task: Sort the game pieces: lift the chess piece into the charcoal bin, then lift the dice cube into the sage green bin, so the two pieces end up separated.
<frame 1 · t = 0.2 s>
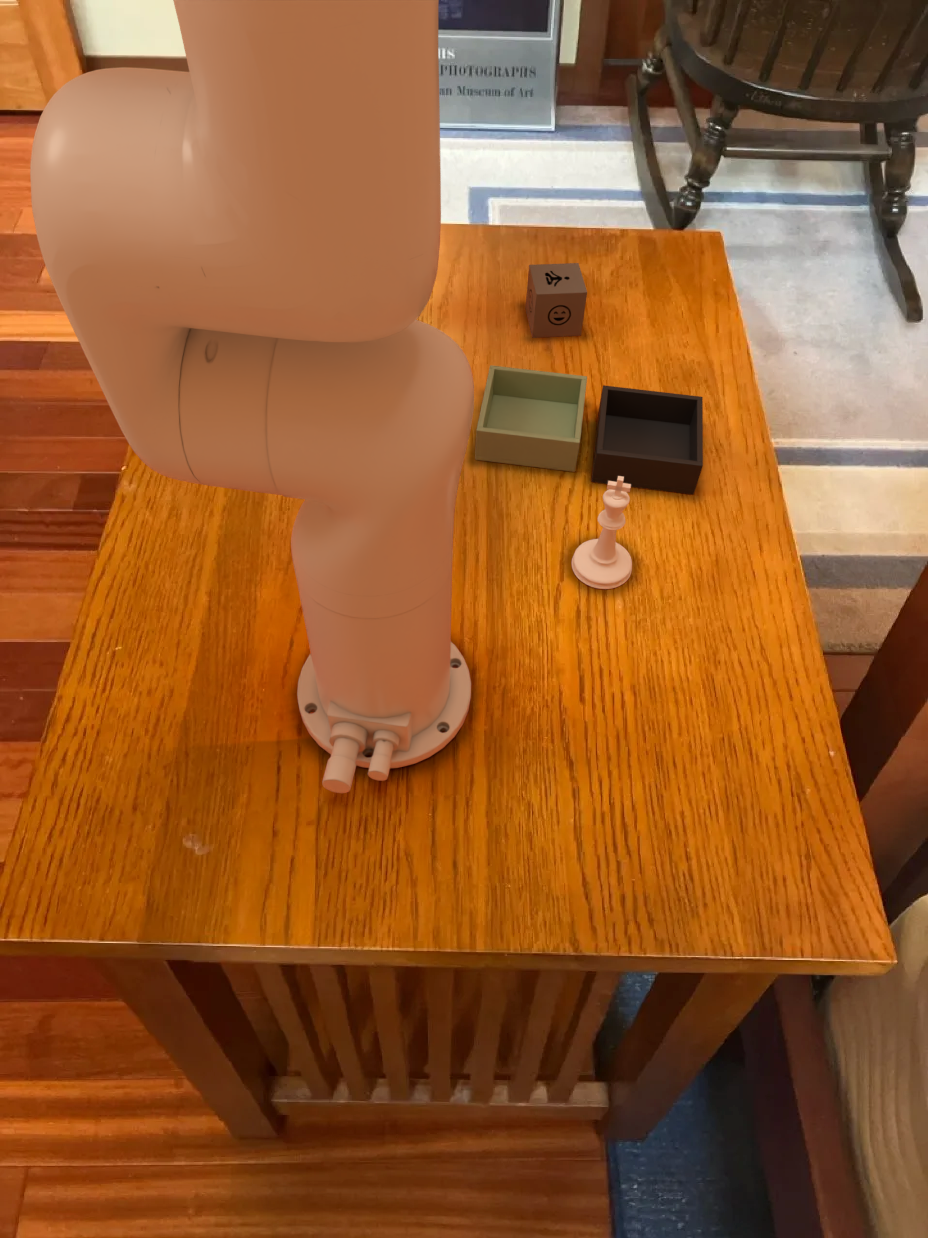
charcoal bin: (644, 453, 84), on the table
sage bin: (530, 432, 86), on the table
chess piece: (601, 567, 76), on the table
dice cube: (552, 323, 96), on the table
candle: (377, 315, 96), on the table
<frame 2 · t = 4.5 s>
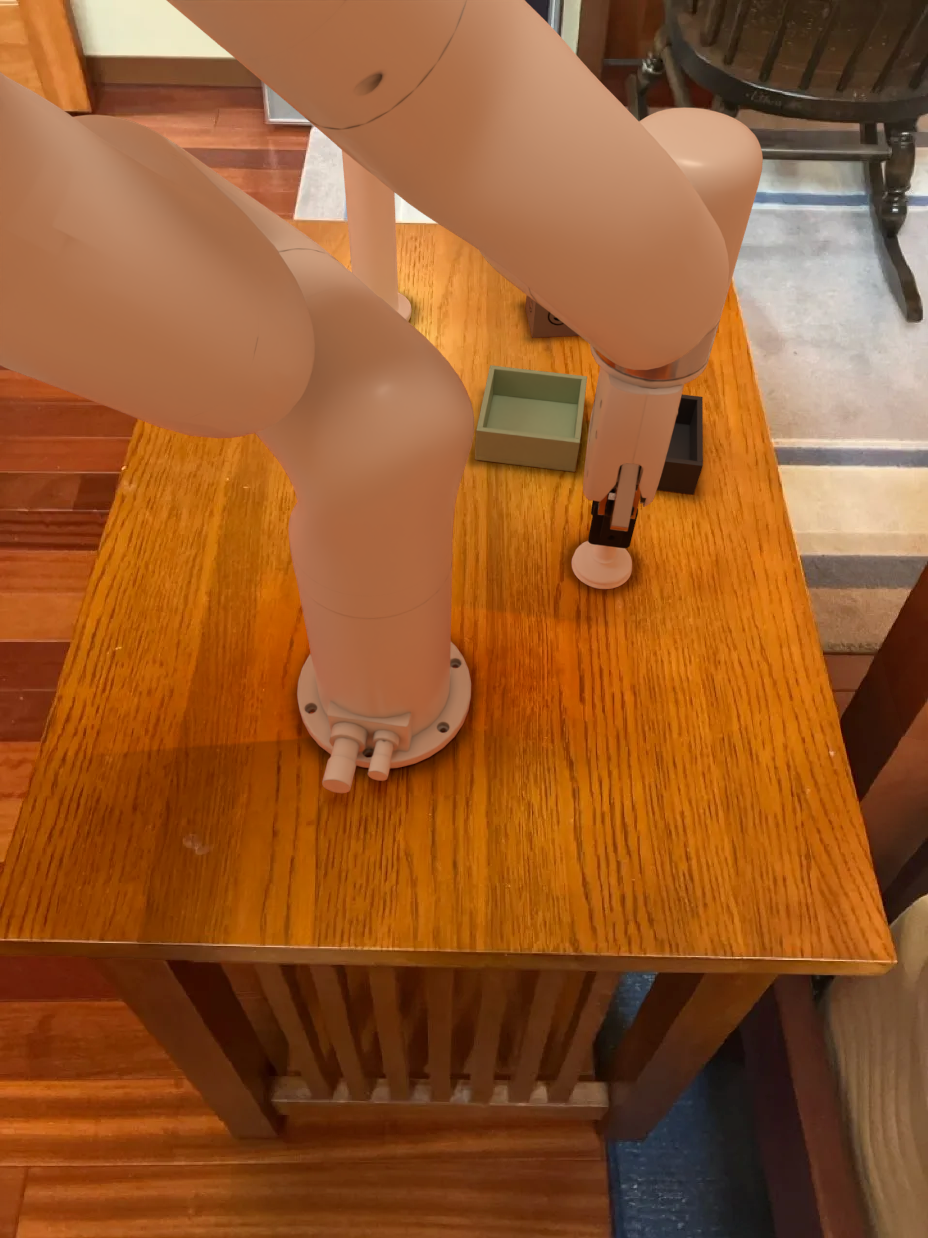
hand: (609, 528, 73), 5 cm above the table, tool pointing down, fingers closed on chess piece
chess piece: (601, 567, 76), on the table, touching gripper
everything else where it was.
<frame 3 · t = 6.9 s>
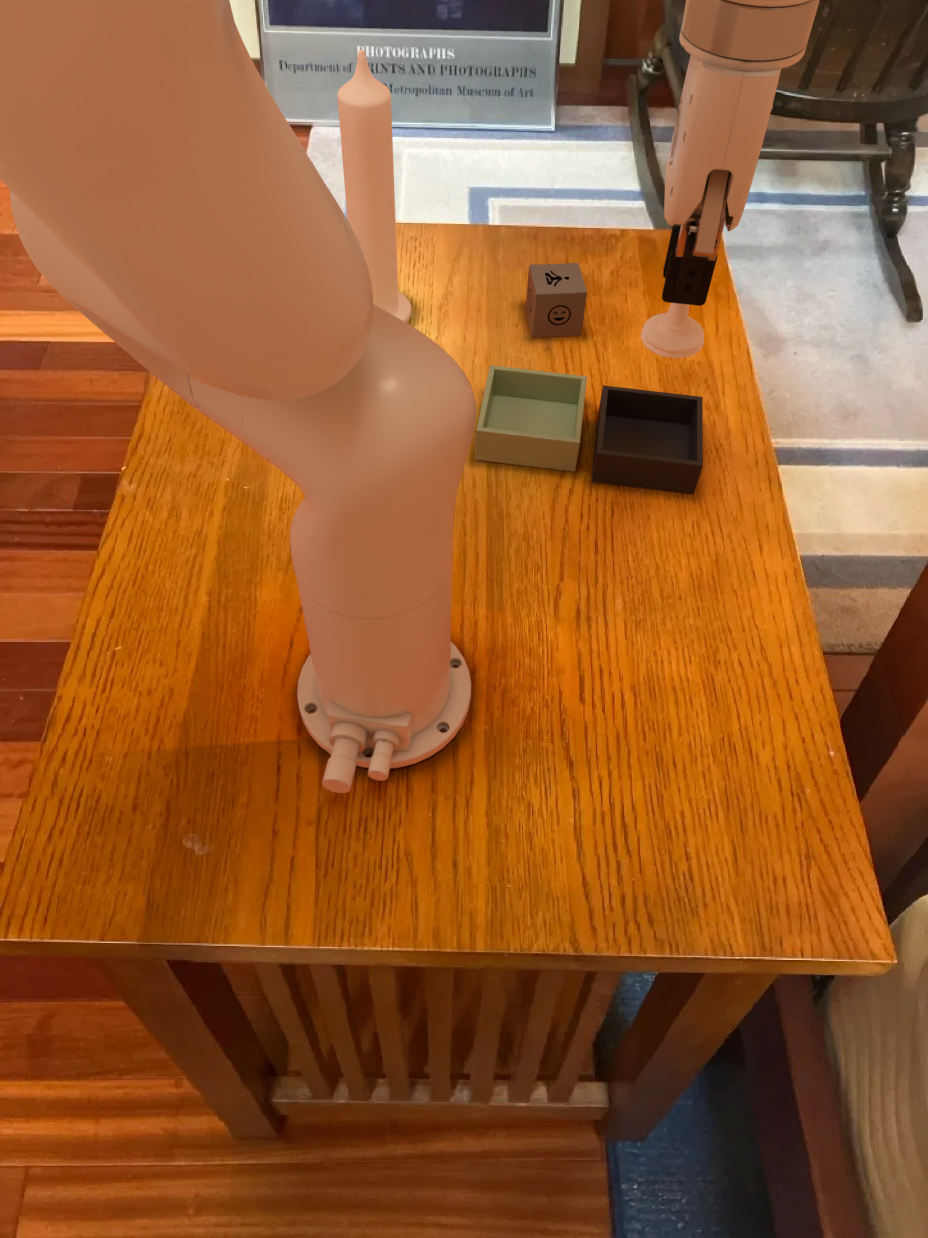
hand: (683, 288, 70), 18 cm above the table, tool pointing down, fingers closed on chess piece
chess piece: (671, 340, 73), point 13 cm above the table, touching gripper
everything else where it was.
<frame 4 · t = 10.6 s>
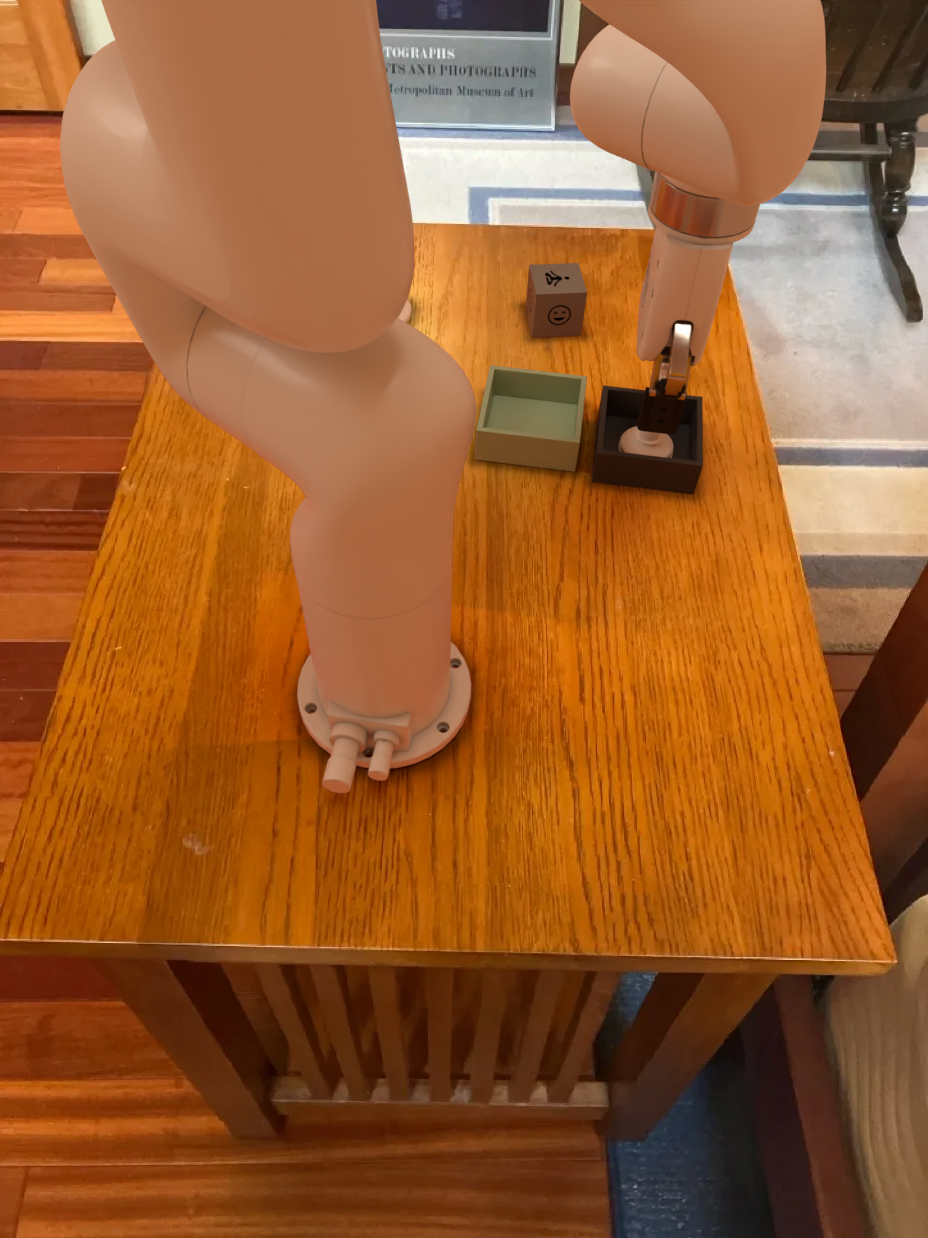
hand: (657, 391, 78), 7 cm above the table, tool pointing down, fingers open, 9 cm apart
chess piece: (645, 450, 84), resting on charcoal bin
everything else where it was.
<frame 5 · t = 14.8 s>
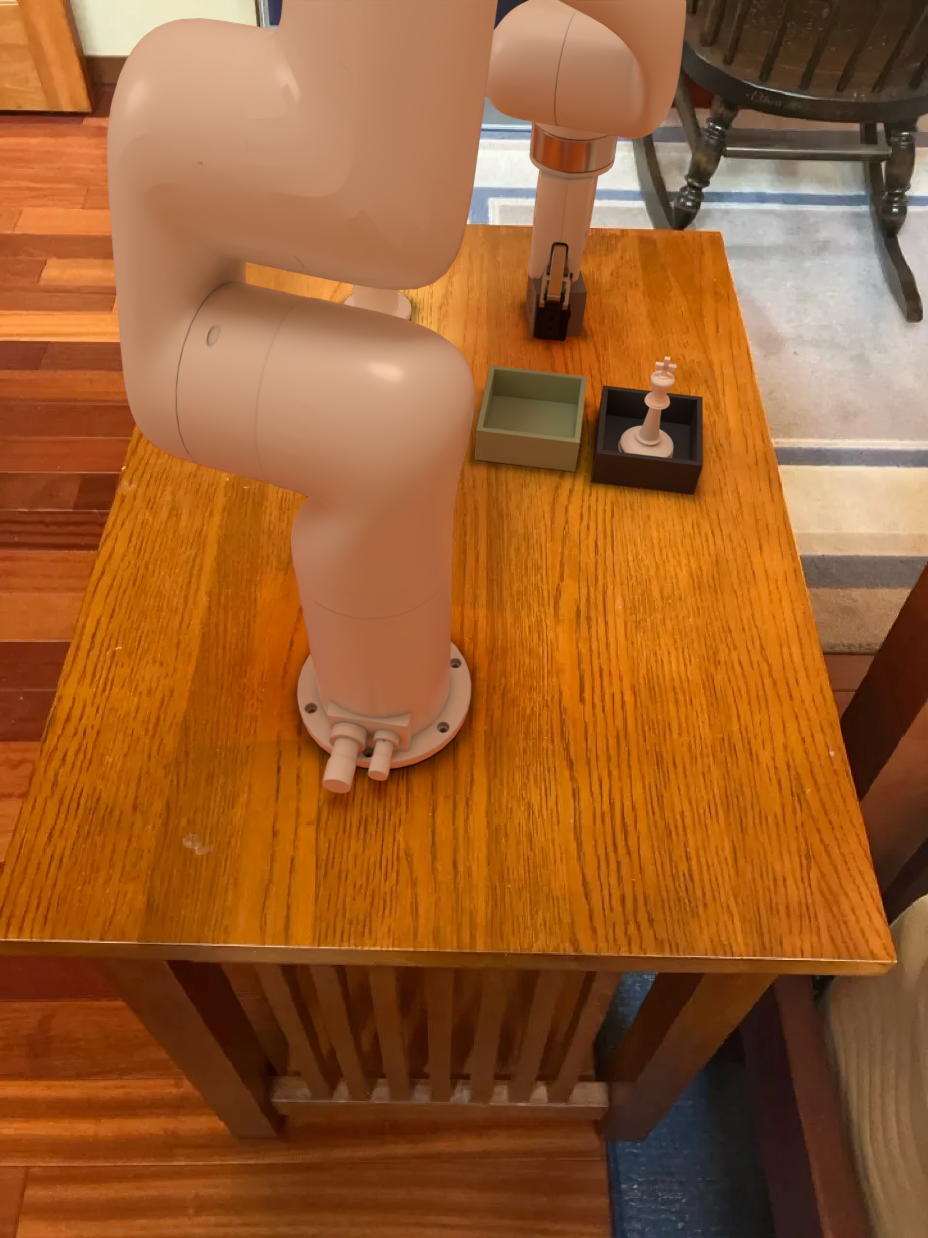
hand: (553, 316, 95), 1 cm above the table, tool pointing down, fingers closed on dice cube, 5 cm apart
dice cube: (552, 323, 96), on the table, touching gripper
everything else where it was.
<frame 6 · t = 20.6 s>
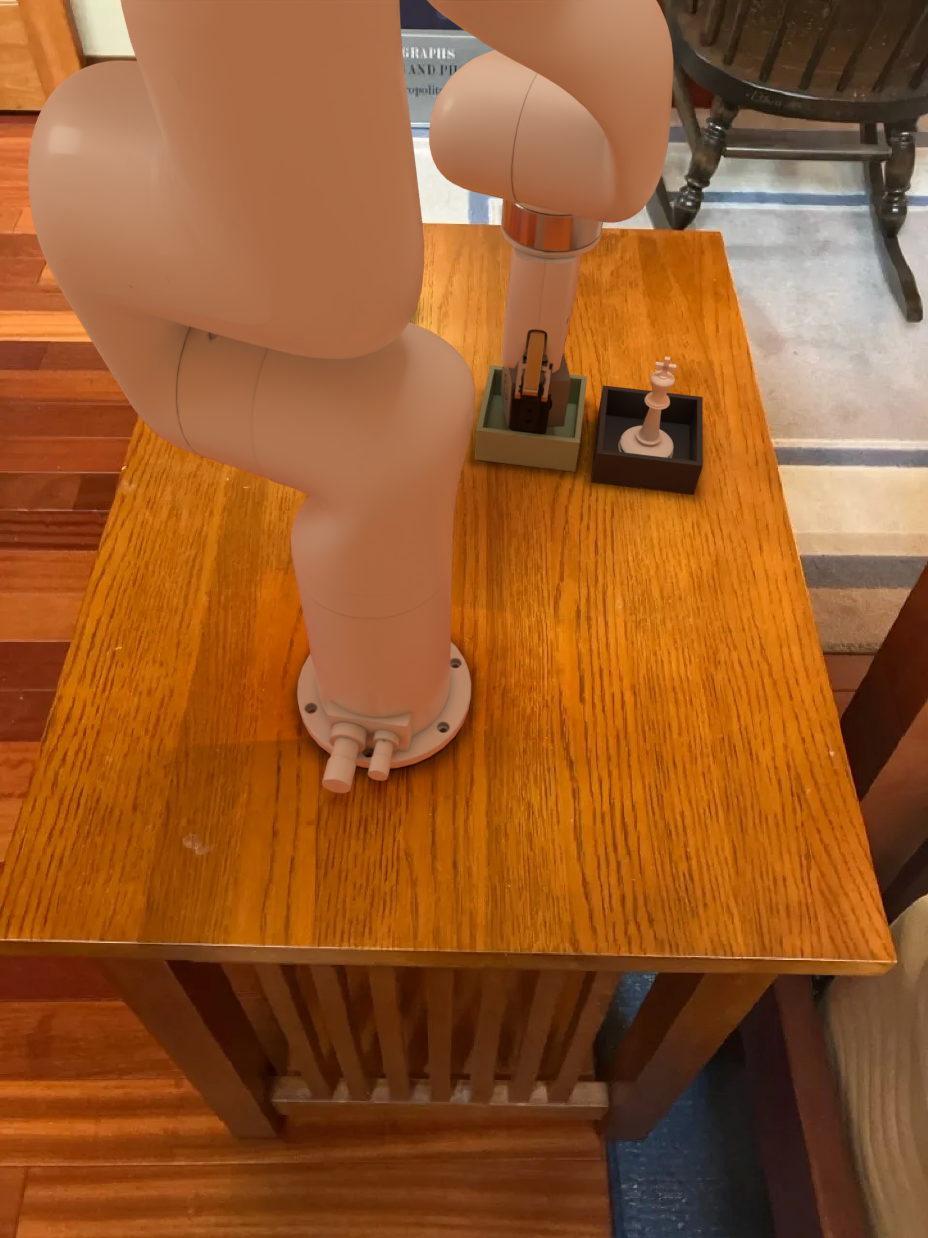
hand: (532, 404, 83), 4 cm above the table, tool pointing down, fingers closed on dice cube, 5 cm apart
dice cube: (531, 410, 83), point 3 cm above the table, touching gripper
everything else where it was.
when the fingers open (4 cm above the table, at t = 26.1 s): dice cube drops 3 cm, resting on sage bin.
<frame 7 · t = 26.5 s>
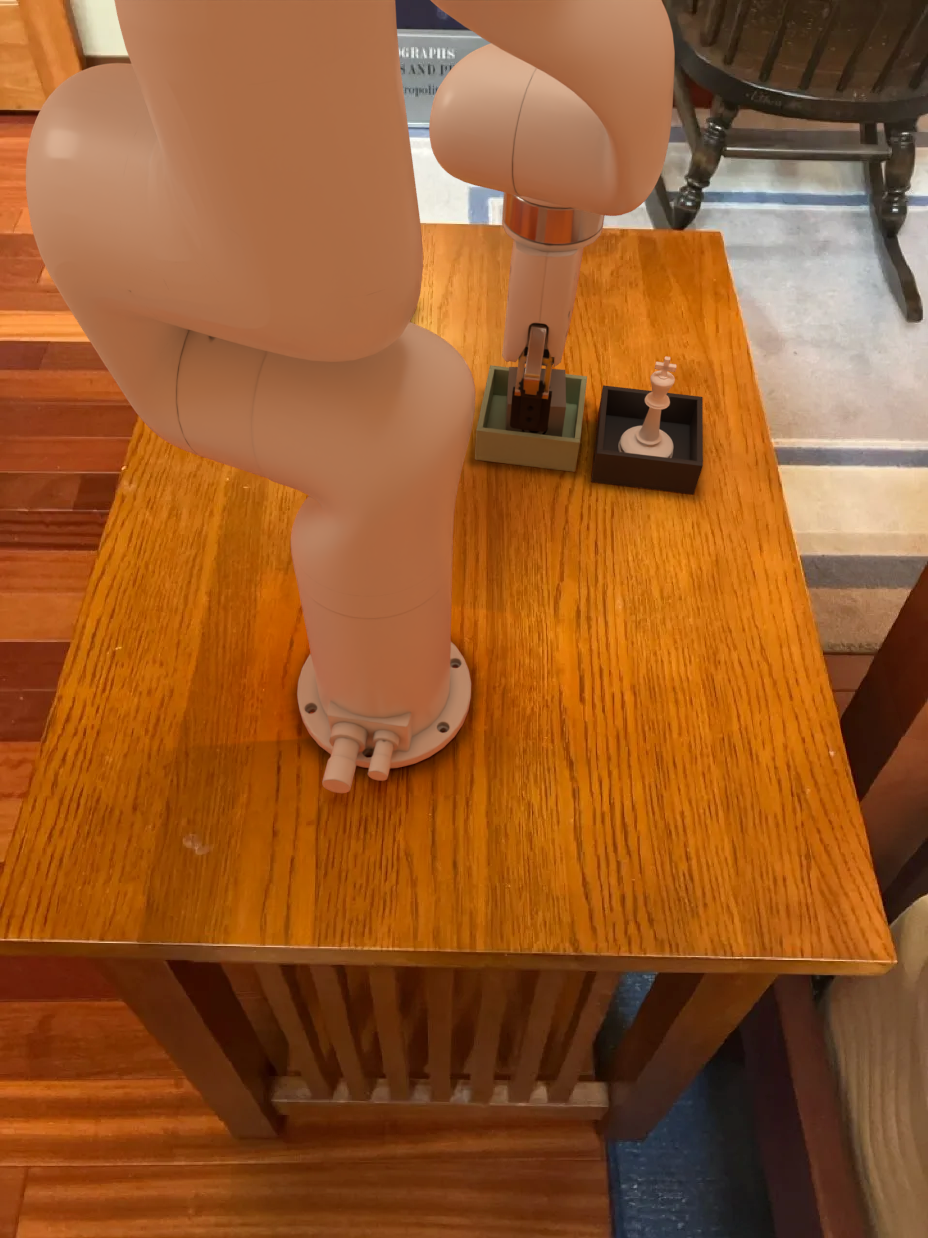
hand: (534, 390, 82), 5 cm above the table, tool pointing down, fingers open, 9 cm apart
dice cube: (532, 431, 85), resting on sage bin
everything else where it was.
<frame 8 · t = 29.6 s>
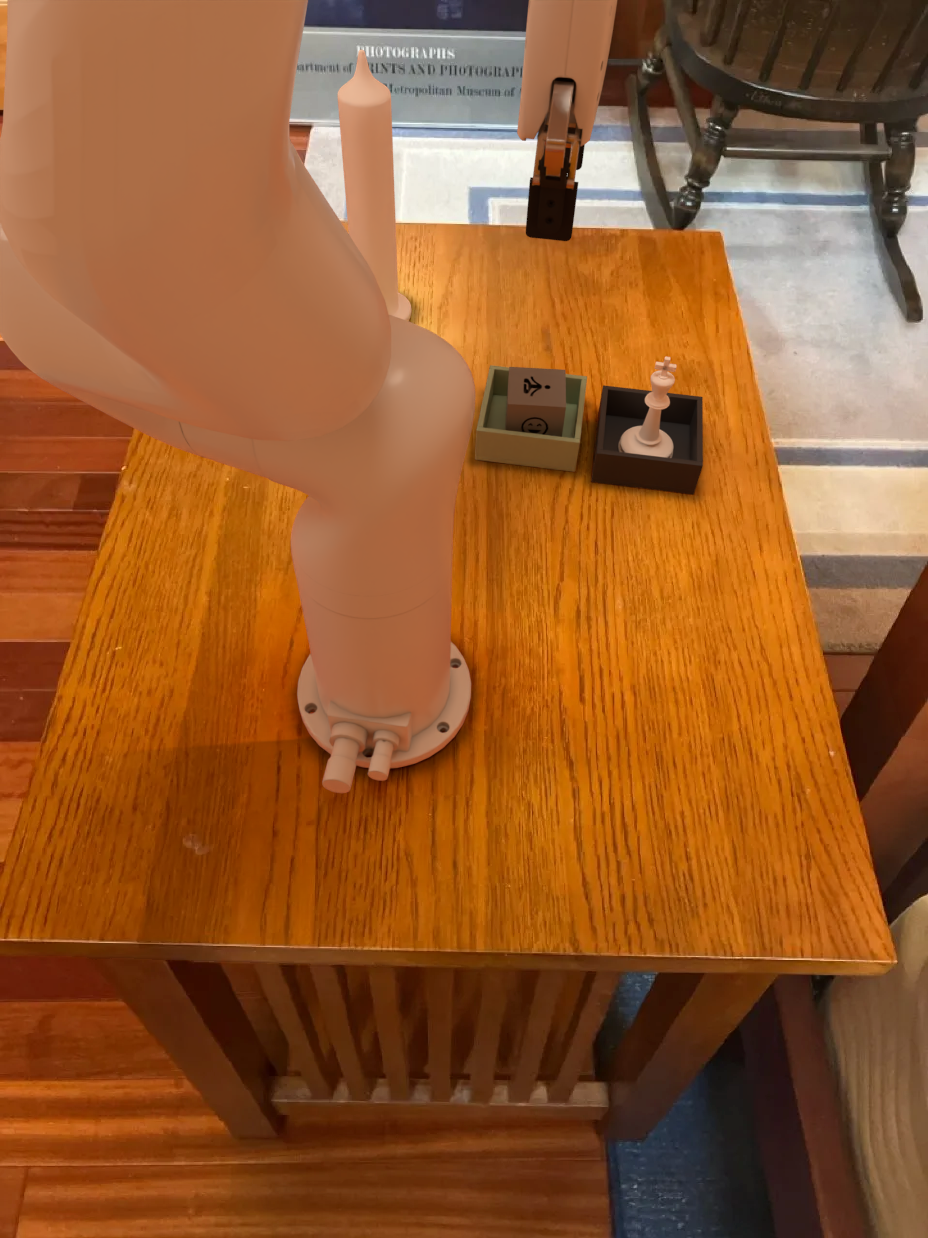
hand: (554, 200, 68), 22 cm above the table, tool pointing down, fingers open, 9 cm apart
nothing on the table moved.
at the end: chess piece inside the target area in the charcoal bin (0.0 cm from its centre), point 0.3 cm above the charcoal bin's base; dice cube inside the target area in the sage bin (0.4 cm from its centre), point 0.3 cm above the sage bin's base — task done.
